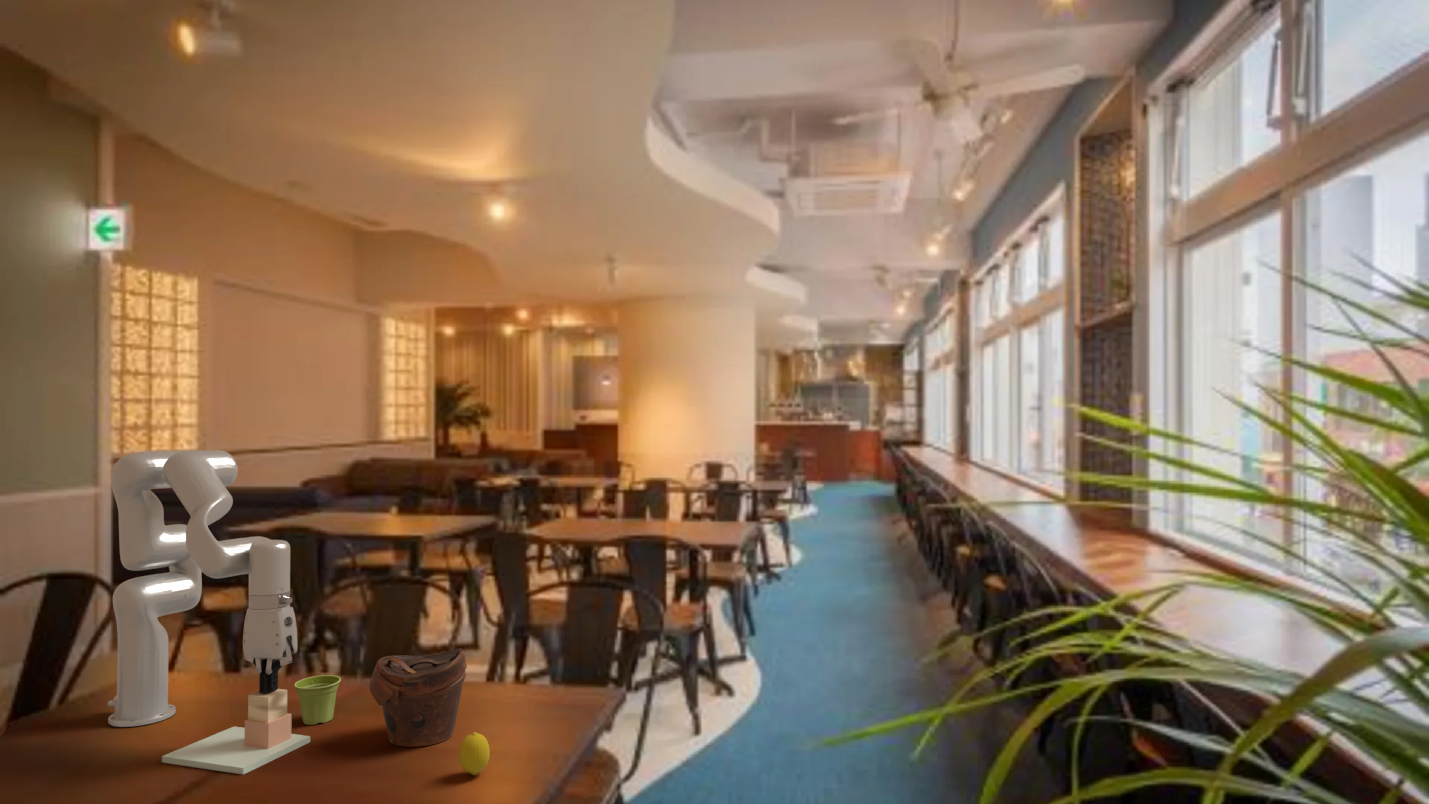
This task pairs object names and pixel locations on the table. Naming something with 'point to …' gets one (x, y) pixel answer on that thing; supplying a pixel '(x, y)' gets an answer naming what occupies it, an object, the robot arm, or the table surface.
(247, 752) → the building board
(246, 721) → the base block
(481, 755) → the lemon
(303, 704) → the plant pot
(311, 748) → the table surface
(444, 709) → the case
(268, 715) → the maple cube
